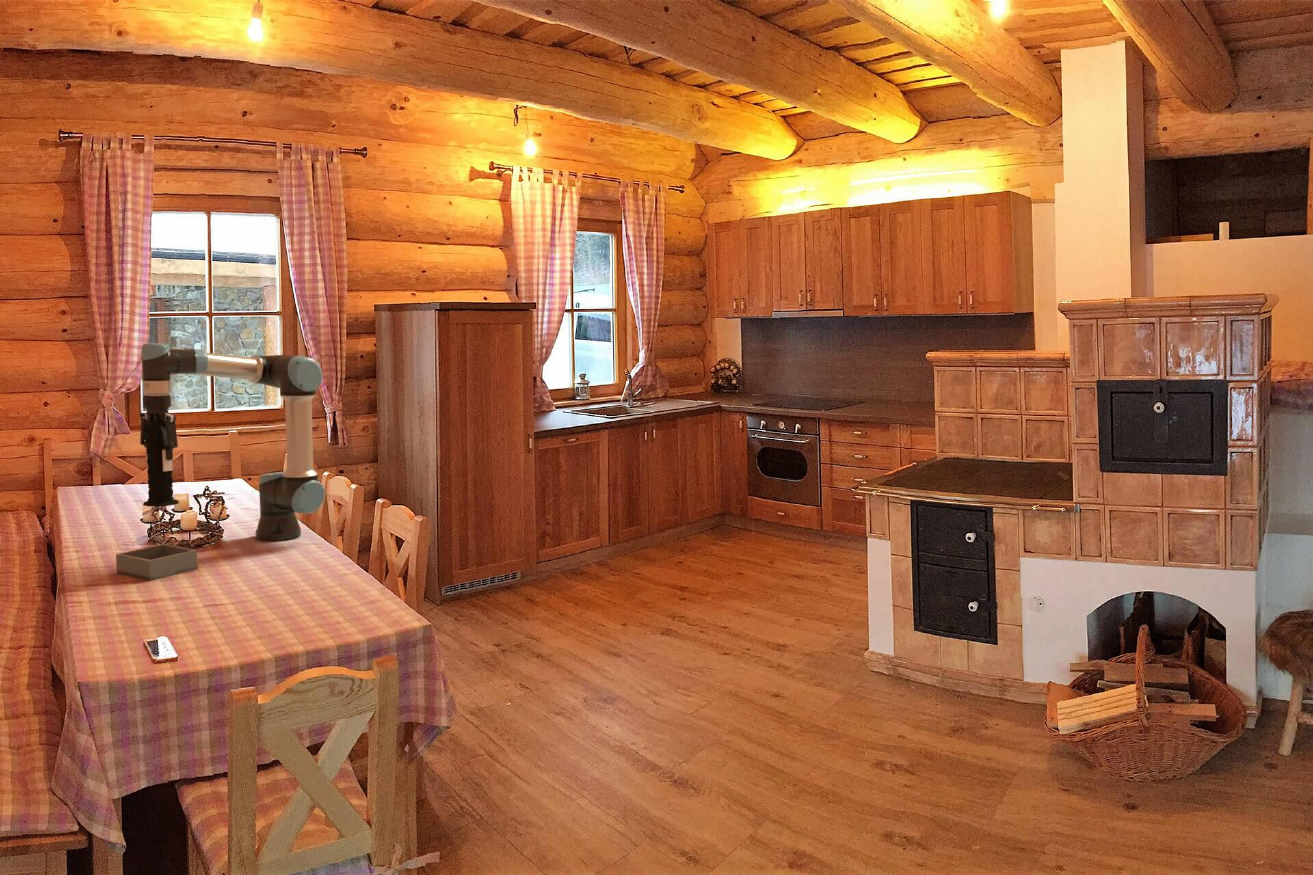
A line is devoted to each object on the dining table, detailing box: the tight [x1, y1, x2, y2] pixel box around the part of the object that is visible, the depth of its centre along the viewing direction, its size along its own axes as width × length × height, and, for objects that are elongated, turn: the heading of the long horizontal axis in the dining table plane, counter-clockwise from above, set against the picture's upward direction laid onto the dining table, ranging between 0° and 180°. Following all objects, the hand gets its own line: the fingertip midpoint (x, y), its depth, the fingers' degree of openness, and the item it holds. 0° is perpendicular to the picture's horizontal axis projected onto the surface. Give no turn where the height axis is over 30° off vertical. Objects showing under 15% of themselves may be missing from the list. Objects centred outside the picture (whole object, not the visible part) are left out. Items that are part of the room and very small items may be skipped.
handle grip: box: [142, 419, 180, 508], centre depth 307 cm, size 10×26×10 cm
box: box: [115, 543, 199, 582], centre depth 310 cm, size 16×16×6 cm
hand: (159, 469), depth 308 cm, fingers closed on handle grip, 7 cm apart
